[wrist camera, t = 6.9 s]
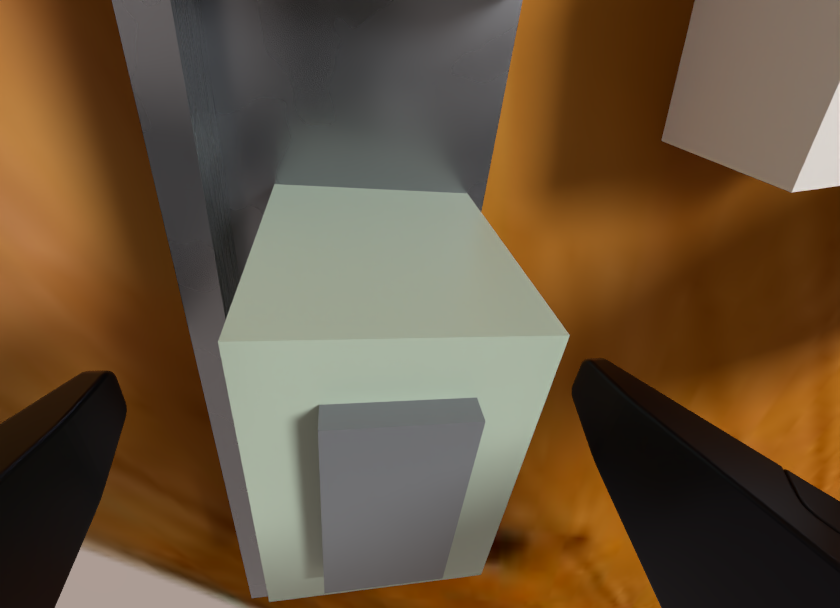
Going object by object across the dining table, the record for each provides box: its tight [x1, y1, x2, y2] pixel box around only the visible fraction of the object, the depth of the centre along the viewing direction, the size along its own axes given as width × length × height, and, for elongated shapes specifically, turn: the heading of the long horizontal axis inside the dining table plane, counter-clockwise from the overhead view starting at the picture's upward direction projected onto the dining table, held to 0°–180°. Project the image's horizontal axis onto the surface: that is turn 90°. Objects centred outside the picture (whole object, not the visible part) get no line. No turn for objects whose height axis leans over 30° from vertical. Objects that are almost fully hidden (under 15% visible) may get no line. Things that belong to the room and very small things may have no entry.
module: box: [218, 184, 570, 602], centre depth 8 cm, size 4×6×5 cm, turn 174°
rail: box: [112, 0, 522, 598], centre depth 10 cm, size 6×22×3 cm, turn 174°
